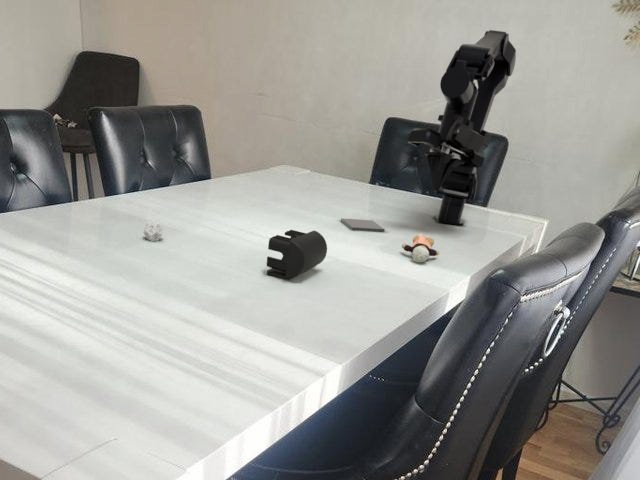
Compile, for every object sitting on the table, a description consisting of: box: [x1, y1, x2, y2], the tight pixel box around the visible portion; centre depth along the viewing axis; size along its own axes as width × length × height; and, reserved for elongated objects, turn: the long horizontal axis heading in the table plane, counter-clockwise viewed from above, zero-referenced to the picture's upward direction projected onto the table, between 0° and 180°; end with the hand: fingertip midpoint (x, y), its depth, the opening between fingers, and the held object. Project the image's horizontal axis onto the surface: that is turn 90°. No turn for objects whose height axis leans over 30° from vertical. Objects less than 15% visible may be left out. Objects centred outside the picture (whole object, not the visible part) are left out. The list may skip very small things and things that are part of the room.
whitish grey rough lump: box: [143, 221, 164, 242], centre depth 121 cm, size 4×4×3 cm
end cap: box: [266, 229, 328, 281], centre depth 113 cm, size 10×7×7 cm
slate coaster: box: [340, 218, 386, 233], centre depth 151 cm, size 8×8×1 cm
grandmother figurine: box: [401, 233, 440, 264], centre depth 133 cm, size 8×4×13 cm
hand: (435, 190), depth 143 cm, fingers closed
